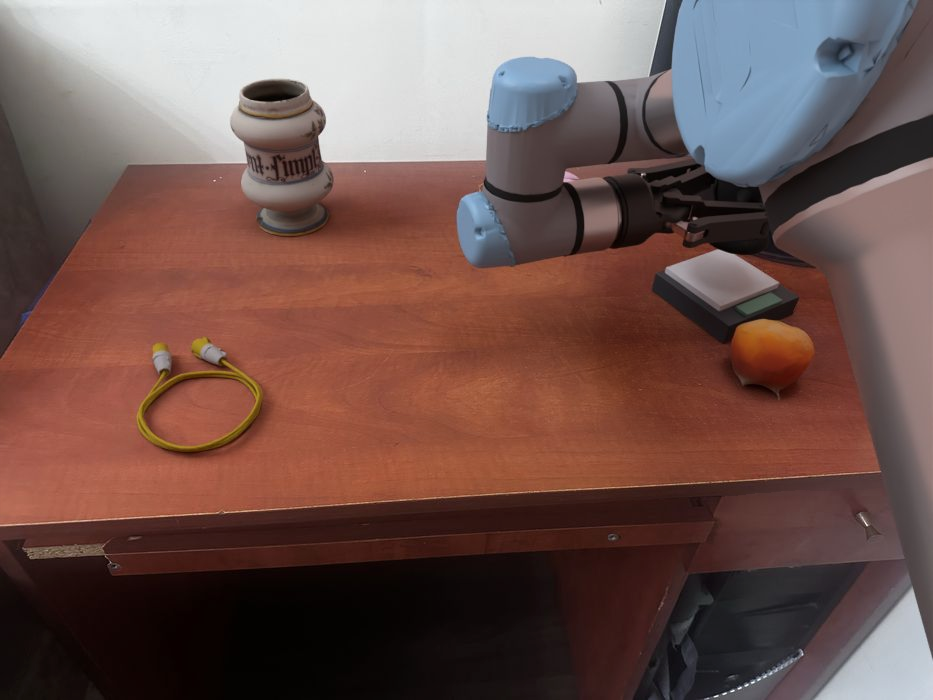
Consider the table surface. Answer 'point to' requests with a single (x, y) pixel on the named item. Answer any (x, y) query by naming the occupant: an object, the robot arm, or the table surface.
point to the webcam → (738, 194)
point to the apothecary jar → (283, 155)
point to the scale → (723, 293)
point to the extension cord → (208, 353)
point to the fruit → (770, 353)
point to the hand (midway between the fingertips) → (785, 187)
